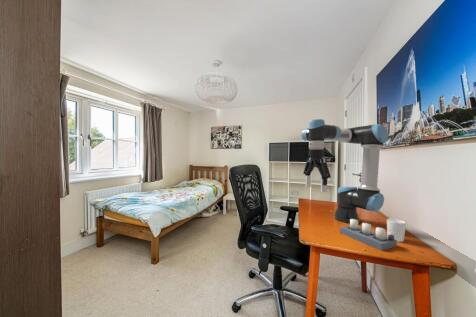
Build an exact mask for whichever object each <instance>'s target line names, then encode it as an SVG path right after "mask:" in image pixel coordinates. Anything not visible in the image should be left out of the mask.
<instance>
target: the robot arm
mask: <svg viewBox="0 0 476 317" xmlns="http://www.w3.org/2000/svg"><path fill="white" fill-rule="evenodd" d="M300 135H301V136H300V137H301V138H302V140H303V141H305V142H308V157H307V158H306V162H305V164H304V165H305V166H304V169H303V175H305V188H312V186H311V184H312V172H313V170H314V168H316V169H317V171H318V172H319V174H320V176H321V178H320V192H321V193H326V192H327V188H328V187H327V185H328V179H330V178H332V177H331V174H330V169H329V165H328V164H327V163H328V162H327V158H323V157H324V156H325V150H324V149H325V142H329V141H330V142H341V143H346V144H347V143H348V144H355V145H358V144H359V145H360V146H361V148H362V150H363V151H362V165H361V177H360V178H361V179H360V186H358V187H356V186H339V187H338V188H337V208H336V210H335V213H334V219H335V220H336V221H338V222H341V223H342V222H343V223H347V224H350V219H356V220H358V224H359V222H360V217H359V213H358V211H357V210H358V209H362V210H366V211H367V212H368V211H369V212H378V211H380V210H381V209H382V207H383V206H384V202H385V197H384V195H383V193H381V189H380V188H378V183H379V182H378V178H379V168H380V167H379V166H380V165H379V163H380V150H381V149H382V148H383V147H384V144H385V143H387V142H388V140H389V132H388V129H387V127H386V126H385V125H384V124H380V123H379V124H378V123H377V124H375V123H374V124H368V125H363V126H355V127H351V128H350V127H349V128H343V129H341V128H340V127H339V126H338V125H334V124H333V125H331V124H326V123H325V120H324V119H322V118H321V119H320V118H317V119H311V120H310V121H309V125H308V128H305V129H303V130H302V131H301V134H300Z"/></svg>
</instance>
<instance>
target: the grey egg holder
mask: <svg viewBox="0 0 476 317" xmlns="http://www.w3.org/2000/svg"><path fill="white" fill-rule="evenodd" d="M339 233H340V234H342V235H344V236H346V237H349V238H352V239H354V240H356V241H358V242H360V243H363V244H366V245H367V246H370V247H372V248H375V249H376V250H379V251H385V250H388V249H391V248H396V247H397V245H398V244H397V240H395V239H394V236H393V235H392V233H390V235H388V234H387V236H386V239H385V241H382V240H378V239H376V231H373V230H371V235H365V234H363V233H362V226H361V227H360V226H358V230H352V229H350V225H347V226H342V227H340V228H339Z"/></svg>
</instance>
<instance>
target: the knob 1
mask: <svg viewBox="0 0 476 317" xmlns="http://www.w3.org/2000/svg"><path fill="white" fill-rule="evenodd" d="M349 226H350V229H352V230H358V227H359V223H358V220H356V219H350V223H349Z"/></svg>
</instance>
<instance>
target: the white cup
mask: <svg viewBox="0 0 476 317" xmlns="http://www.w3.org/2000/svg"><path fill="white" fill-rule="evenodd" d="M406 226H407V223H406V221H404V220H401V219H396V218H386V233H387V236H388V235H390V233H392V235H393V236H394V239H395V240H397V242H398V243H399V242H400V243H403V242H404V241H405V234H406Z"/></svg>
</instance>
